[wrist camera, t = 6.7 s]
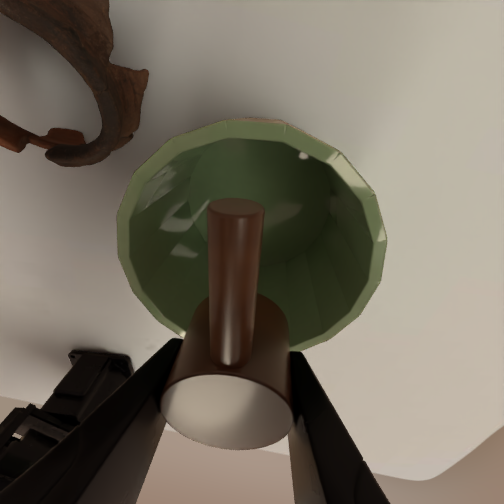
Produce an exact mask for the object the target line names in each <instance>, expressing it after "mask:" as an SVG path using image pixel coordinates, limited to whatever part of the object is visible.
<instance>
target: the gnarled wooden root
mask: <svg viewBox="0 0 504 504" xmlns="http://www.w3.org/2000/svg"><path fill="white" fill-rule="evenodd" d="M0 12H1V13H2V14H4V15H6V16H7V17H9V18H10V19H12V20H14V21H16V22H18V23H20V24H21V25H23V26H25V27H26V28H28V29H30V30H31V31H33V32H34V33H36V34H37V35H39V36H40V37H41V38H43V39H44V40H45V41H46V42H48V43H49V44H50V45H51V46H52V47H53V48H54V49H56V50H57V51H58V52H59V53H60V54H61V55H62V56H63V57H64V58H65V59H66V60H67V61H68V62H69V63H70V64H71V65H72V66H73V67H74V68H75V69H76V70H77V72H78V73H79V74H80V75H81V76H82V78H83V79H84V81H85V82H86V83H87V85H88V86H89V87H90V88H91V90H92V92H93V95H94V97H95V99H96V101H97V103H98V108H99V111H100V114H101V118H102V129H101V133H100V135H99V136H98V138H96V139H95V140H94V141H92V142H90V143H88V144H86V142H85V139H84V136H83V134H82V133H81V132H79V131H76V130H70V129H64V128H51V129H50V130H49V131H48V134H47V135H46V136H38V135H35V134H33V133H31V132H29V131H27V130H24V129H22V128H21V127H19V126H17V125H15V124H14V123H12V122H10V121H9V120H7V119H6V118H4V117H2V116H1V115H0V146H2V147H4V148H6V149H9V150H11V151H14V152H17V153H20V152H21V151H22V150H23V149H24V148H25V147H26V145H27V144H28V143H31V144H33V145H36V146H39V147H41V148H44V149H48V151H47V152H46V153H45V157H46V158H47V159H48V160H50V161H52V162H54V163H56V164H57V165H59V166H63V167H81V166H86V165H92V164H95V163H98V162H101V161H102V160H104V159H105V158H106V157H108V156H109V155H110V153H111V151H114V150H116V149H119V148H121V147H122V146H124V145H125V144H127V143H128V142H129V141H130V140H131V139H132V138H133V132H135V131H136V130H137V129H138V127H139V123H140V114H141V104H142V100H143V96H144V91H145V89H146V87H147V82H148V77H149V71H148V70H146V69H142V70H140V71H138V70H133V69H130V68H126V67H121V66H118V65H115V64H112V63H110V62H109V57H110V54H111V52H112V50H113V47H114V45H113V30H112V26H111V23H110V19H109V0H0Z"/></svg>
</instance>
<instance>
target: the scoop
mask: <svg viewBox="0 0 504 504" xmlns="http://www.w3.org/2000/svg"><path fill="white" fill-rule="evenodd" d="M264 217H265V209H264V207H263V206H262V205H261V204H260V203H258V202H255V201H252V200H248V199H243V198H223V199H218V200H215V201H212V202H211V203H209V205H208V207H207V236H208V278H209V296H208V297H207V298H205V299H204V300H203V301H202V302H201V303H200V304H199V305H198V306H197V308H196V310H195V312H194V315H193V317H192V319H191V322H190V324H189V327H188V329H187V332H186V334H185V337H184V339H183V342H182V344H181V346H180V349H179V351H178V354H177V356H176V359H175V361H174V364H173V366H172V369H171V371H170V373H169V376H168V378H167V381H166V383H165V386H164V388H163V391H162V393H161V396H160V410H161V413H162V415H163V417H164V419H165V420H166V421H167V423H168V424H169V425H170V426H171V427H172V428H174V429H175V430H176V431H177V432H179V433H180V434H182V435H183V436H185V437H187V438H189V439H191V440H193V441H196V442H198V443H201V444H204V445H208V446H211V447H216V448H221V449H229V450H250V449H257V448H262V447H266V446H269V445H271V444H274V443H276V442H278V441H280V440H281V439H282V438H284V437H285V436H286V435H287V434H288V433H289V431H290V430H291V428H292V425H293V423H294V404H293V390H292V375H291V360H290V343H289V328H288V322H287V319H286V316H285V314H284V313H283V311H282V310H281V309H280V307H279V306H278V305H277V304H276V303H275V302H273V301H272V300H271V299H269V298H268V297H266V296H264V295H262V294H259V293H257V291H258V280H259V270H260V259H261V248H262V238H263V227H264Z"/></svg>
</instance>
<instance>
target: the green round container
mask: <svg viewBox="0 0 504 504" xmlns="http://www.w3.org/2000/svg"><path fill="white" fill-rule="evenodd" d="M223 198H243V199H248V200H252V201H255V202H258V203H260V204H261V205H262V206H263V207H264V209H265V217H264V227H263V238H262V248H261V259H260V270H259V280H258V291H257V293H259V294H262V295H264V296H266V297H268V298H269V299H271V300H272V301H273V302H275V303H276V304H277V305H278V306H279V307H280V309H281V310H282V311H283V313H284V314H285V316H286V319H287V322H288V328H289V343H290V351H298V352H300V351H303V350H305V349H308V348H310V347H312V346H315V345H317V344H320V343H322V342H325V341H327V340H329V339H331V338H332V337H334V336H335V335H336V334H337V333H339V332H340V331H341V330H342V329H344V328H345V327H346V326H347V325H349V324H350V323H351V322H352V321H354V320H355V319H356V318H357V317H359V315H360V314H361V313H362V311H363V310H364V308H365V306H366V305H367V303H368V302H369V300H370V298H371V297H372V295H373V293H374V292H375V290H376V289H377V287H378V285H379V284H380V281H381V277H382V271H383V265H384V259H385V253H386V247H387V235H386V231H385V227H384V224H383V220H382V216H381V213H380V209H379V205H378V201H377V198H376V195H375V194H374V191H373V190H372V189H371V187H370V186H369V185H368V184H367V183H366V181H365V180H364V179H363V178H362V176H361V175H360V174H359V173H358V172H357V170H356V169H355V168H354V167H353V166H352V164H351V163H350V162H349V161H348V160H347V158H346V157H345V156H344V155H343V154H342V152H340V151H339V150H337V149H336V148H334V147H332V146H330V145H328V144H326V143H325V142H323V141H321V140H319V139H317V138H315V137H313V136H312V135H310V134H308V133H306V132H304V131H302V130H300V129H298V128H296V127H294V126H292V125H290V124H288V123H286V122H284V121H282V120H278V119H266V118H251V117H249V118H238V119H228V120H222V121H219V122H216V123H213V124H210V125H207V126H204V127H202V128H199V129H196V130H193V131H190V132H187V133H184V134H181V135H178V136H175V137H173V138H171V139H169V140H168V141H167V142H166V143H165V144H164V145H163V146H162V147H161V148H160V149H158V150H157V151H156V152H155V153H154V154H153V155H152V156H151V157H150V158H149V159H148V160H147V161H146V162H144V163H143V164H142V165H141V166H140V167H139V168H138V169H137V170H136V171H135V172H134V174H133V176H132V178H131V181H130V183H129V185H128V188H127V190H126V193H125V195H124V198H123V200H122V203H121V205H120V208H119V210H118V212H117V248H118V258H119V260H120V263H121V265H122V267H123V270H124V272H125V275H126V277H127V279H128V282H129V284H130V287H131V289H132V291H133V293H134V294H135V295H136V296H137V298H138V299H139V300H140V301H141V302H142V303H143V305H144V306H145V307H146V308H147V309H148V310H149V312H150V313H151V314H152V315H153V316H154V317H155V319H156V320H158V322H160V323H161V324H163V325H164V326H166V327H167V328H169V329H170V330H172V331H173V332H175V333H176V334H178V335H179V336H181V337H182V338H184V337H185V334H186V332H187V329H188V327H189V324H190V322H191V319H192V317H193V315H194V312H195V310H196V308H197V306H198V305H199V304H200V303H201V302H202V301H203V300H204V299H205V298H207V297H208V296H209V278H208V236H207V207H208V205H209V203H211V202H212V201H215V200H218V199H223Z"/></svg>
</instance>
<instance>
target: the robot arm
mask: <svg viewBox="0 0 504 504" xmlns="http://www.w3.org/2000/svg"><path fill="white" fill-rule="evenodd" d="M182 342H183V339H178V338H172V339H170V340H169V341H168V342H167V343H166V344H165V345H164V346H163V347H162V348H161V349H160V350H158V351H157V352H156V353H155V354H154V355H153V356H152V357H151V358H150V359H149V360H148V361H147V362H145V363H144V364H143V365H142V366H141V367H140V368H139V369H138V370H137V371H136V372H135V373H134V372H133V369H132V365H131V361H130V358H128V357H127V356H120V355H111V354H102V353H93V352H84V351H76V350H72V351H71V352H70V353H69V354H68V357H69V359H70V361H71V364H72V366H73V367H72V368H71V369H70V370H69V372H68V373H67V374H66V375H65V377H64V378H63V379H62V380H61V382H60V383H59V384H58V385H57V387H56V388H55V389H54V391H53V392H54V393H53V394H52V395H51V396H50V398H49V399H48V400H47V401H46V403H45V404H44V405H43V407H42V408H41V409H38V408H36V406H35V405H33V404H31V403H30V404H29V405H28V406H27V407H26V409H25V408H14V409H13V411H12V412H11V413H10V414H9V415H8V416H7V417H6V418H5V419H4V421H3V422H2V423H1V424H0V504H136V501H137V498H138V496H139V493H140V491H141V488H142V485H143V483H144V480H145V478H146V475H147V472H148V470H149V467H150V464H151V462H152V459H153V456H154V453H155V451H156V448H157V446H158V443H159V441H160V437H161V435H162V433H163V430H164V427H165V425H166V422H167V421H166V420H165V419H164V417H163V415H162V413H161V410H160V396H161V393H162V391H163V388H164V386H165V383H166V381H167V378H168V376H169V373H170V371H171V369H172V366H173V364H174V361H175V359H176V356H177V354H178V351H179V349H180V346H181V344H182ZM290 360H291V375H292V390H293V404H294V423H293V425H292V428H291V430H290V431H289V433H288V441H289V451H290V460H291V471H292V480H293V490H294V500H295V504H390V502H389V501H388V499H387V498H386V496H385V494H384V493H383V491H382V489H381V488H380V486H379V484H378V483H377V481H376V479H375V478H374V476H373V474H372V473H371V471H370V469H369V467H368V466H367V464H366V462H365V461H363V457H362V455H361V454H360V452H359V450H358V448H357V447H356V445H355V443H354V441H353V440H352V438H351V436H350V435H349V433H348V431H347V429H346V428H345V426H344V424H343V422H342V421H341V419H340V417H339V415H338V414H337V412H336V410H335V409H334V407H333V405H332V403H331V402H330V400H329V398H328V396H327V395H326V393H325V391H324V390H323V388H322V386H321V384H320V383H319V381H318V379H317V377H316V376H315V374H314V372H313V370H312V369H311V367H310V365H309V364H308V362H307V360H306V358H305V357H304V355H303V353H302V352H298V351H290ZM14 433H17V434H19V435H21V436H22V437H21V438H20V439H18V438H16V437H13V436H12V435H13V434H14Z"/></svg>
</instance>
